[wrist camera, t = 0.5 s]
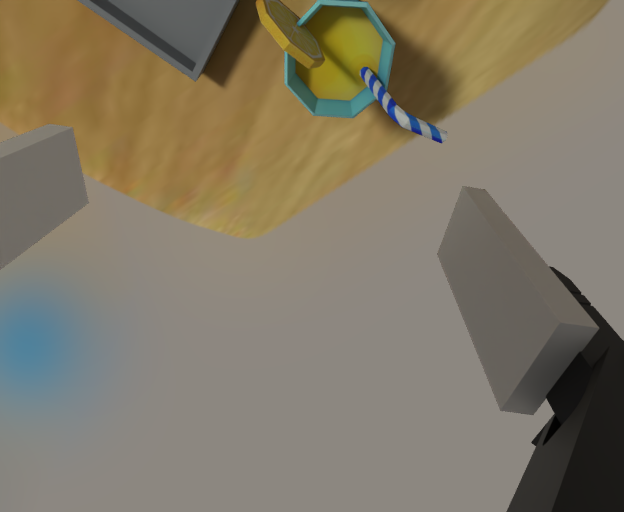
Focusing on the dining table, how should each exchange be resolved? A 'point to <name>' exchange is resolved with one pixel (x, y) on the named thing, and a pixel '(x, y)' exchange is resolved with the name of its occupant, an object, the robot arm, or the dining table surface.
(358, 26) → the cup
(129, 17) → the tray
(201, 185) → the dining table surface
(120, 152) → the dining table surface
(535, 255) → the robot arm
